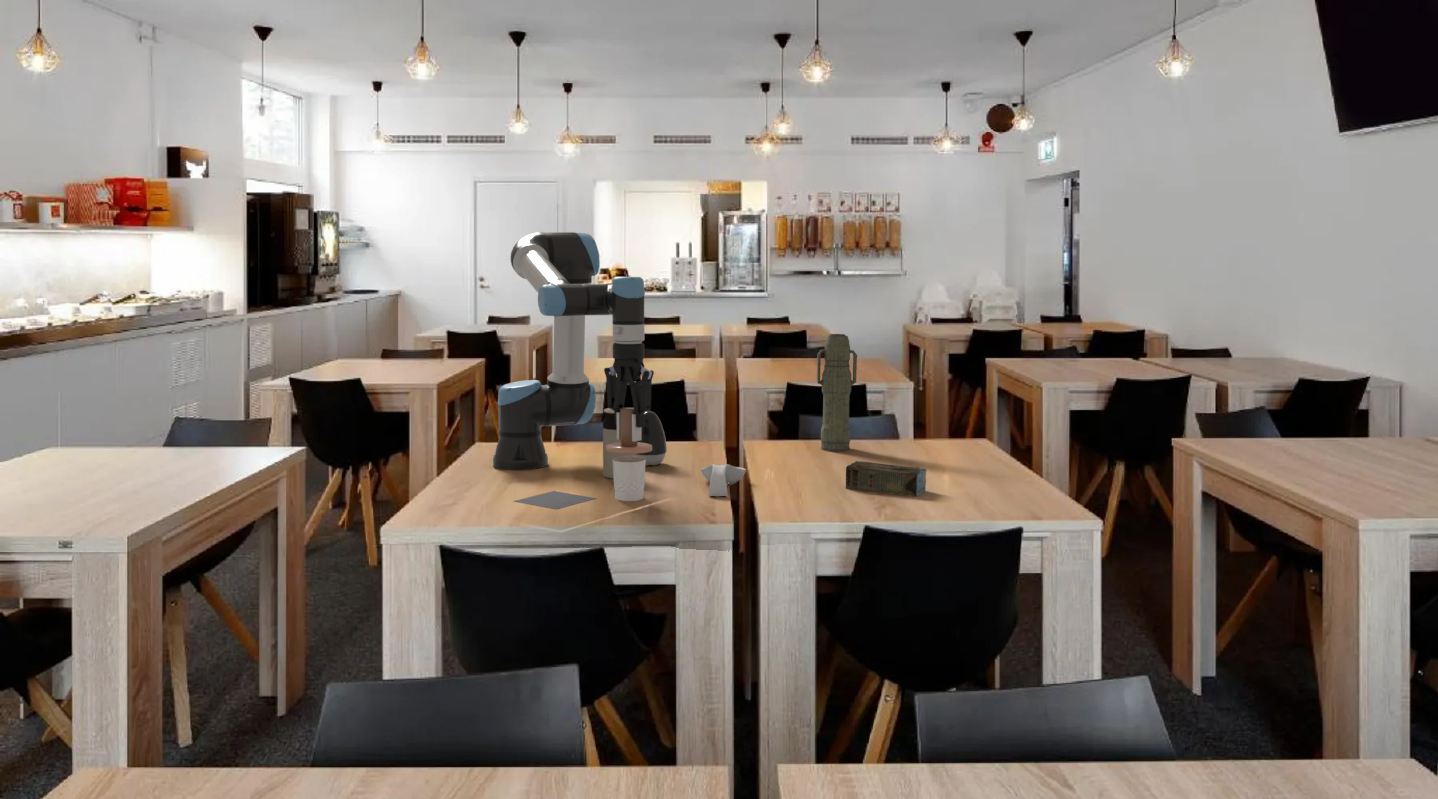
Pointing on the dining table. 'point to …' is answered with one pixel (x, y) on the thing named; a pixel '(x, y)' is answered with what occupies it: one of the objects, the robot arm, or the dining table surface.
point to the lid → (627, 437)
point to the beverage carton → (885, 478)
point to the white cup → (629, 478)
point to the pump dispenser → (653, 439)
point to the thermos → (836, 392)
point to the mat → (555, 500)
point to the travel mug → (610, 442)
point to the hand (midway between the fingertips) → (629, 439)
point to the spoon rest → (721, 478)
